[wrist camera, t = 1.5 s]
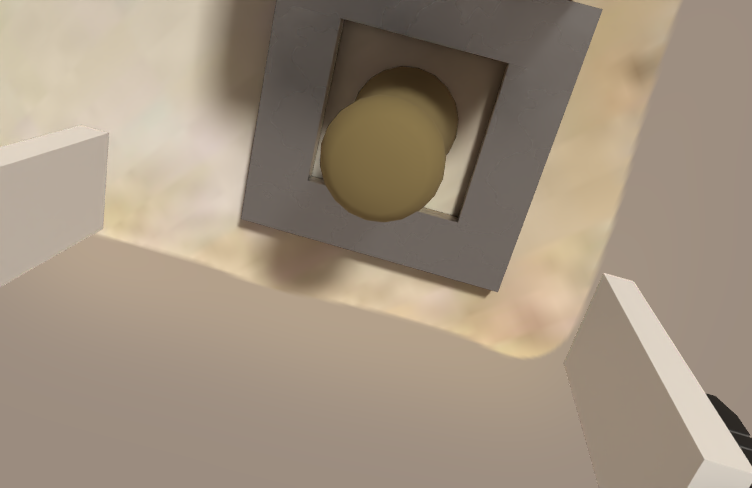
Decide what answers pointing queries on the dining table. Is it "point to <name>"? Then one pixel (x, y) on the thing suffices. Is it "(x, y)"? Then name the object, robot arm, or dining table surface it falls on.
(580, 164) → the dining table surface
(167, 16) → the dining table surface
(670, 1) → the dining table surface
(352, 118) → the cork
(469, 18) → the low frame
